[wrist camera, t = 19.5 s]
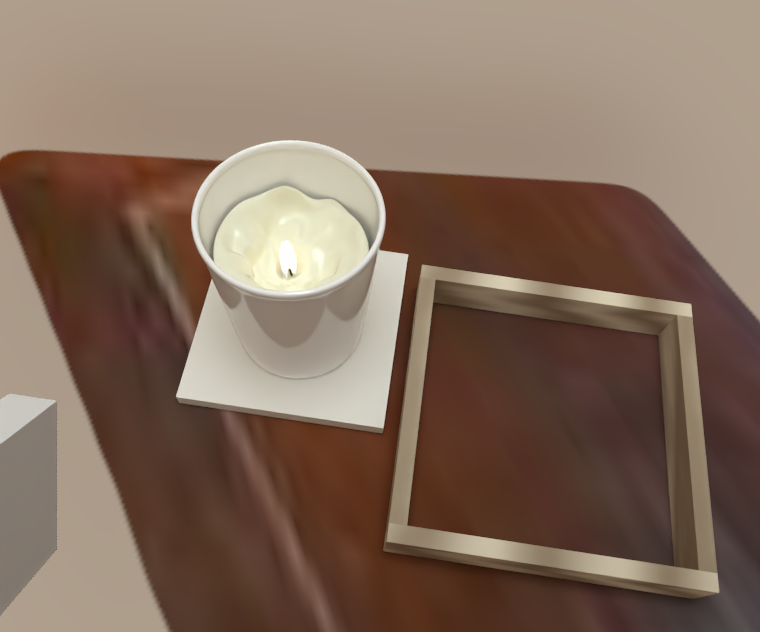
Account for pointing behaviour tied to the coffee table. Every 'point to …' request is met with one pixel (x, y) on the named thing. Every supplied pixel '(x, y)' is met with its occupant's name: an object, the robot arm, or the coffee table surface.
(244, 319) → the candle holder
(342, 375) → the coaster
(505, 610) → the coffee table surface
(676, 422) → the birch frame
